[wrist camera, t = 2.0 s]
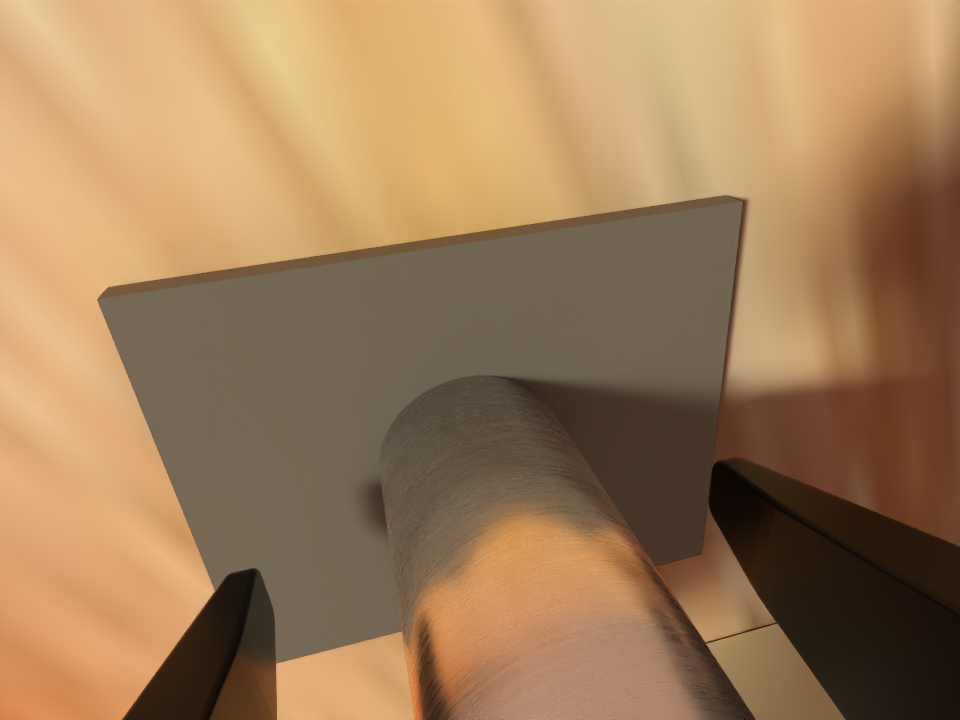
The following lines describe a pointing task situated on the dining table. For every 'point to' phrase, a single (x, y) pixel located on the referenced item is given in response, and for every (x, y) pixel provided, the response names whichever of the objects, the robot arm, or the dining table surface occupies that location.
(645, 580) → the plug
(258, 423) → the mat
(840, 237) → the dining table surface
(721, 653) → the socket block
